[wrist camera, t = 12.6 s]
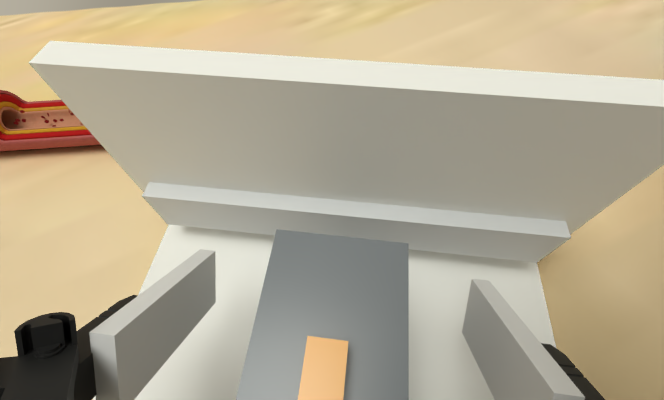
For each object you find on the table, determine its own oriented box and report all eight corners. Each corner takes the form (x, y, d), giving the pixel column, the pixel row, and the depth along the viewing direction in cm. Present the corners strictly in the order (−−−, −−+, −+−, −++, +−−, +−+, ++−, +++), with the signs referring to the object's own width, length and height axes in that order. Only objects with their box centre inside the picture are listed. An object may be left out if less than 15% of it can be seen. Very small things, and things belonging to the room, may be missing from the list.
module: (378, 310, 21) (413, 230, 11) (372, 449, 17) (416, 498, 8) (300, 301, 21) (272, 216, 12) (277, 434, 17) (209, 464, 8)
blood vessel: (329, 102, 33) (328, 57, 28) (333, 140, 30) (333, 96, 26) (-113, 131, 31) (-183, 87, 27) (-150, 173, 28) (-235, 132, 24)
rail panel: (526, 244, 24) (713, 83, 12) (593, 557, 15) (1451, 1051, 4) (181, 210, 26) (50, 40, 14) (71, 472, 17) (-508, 609, 5)
